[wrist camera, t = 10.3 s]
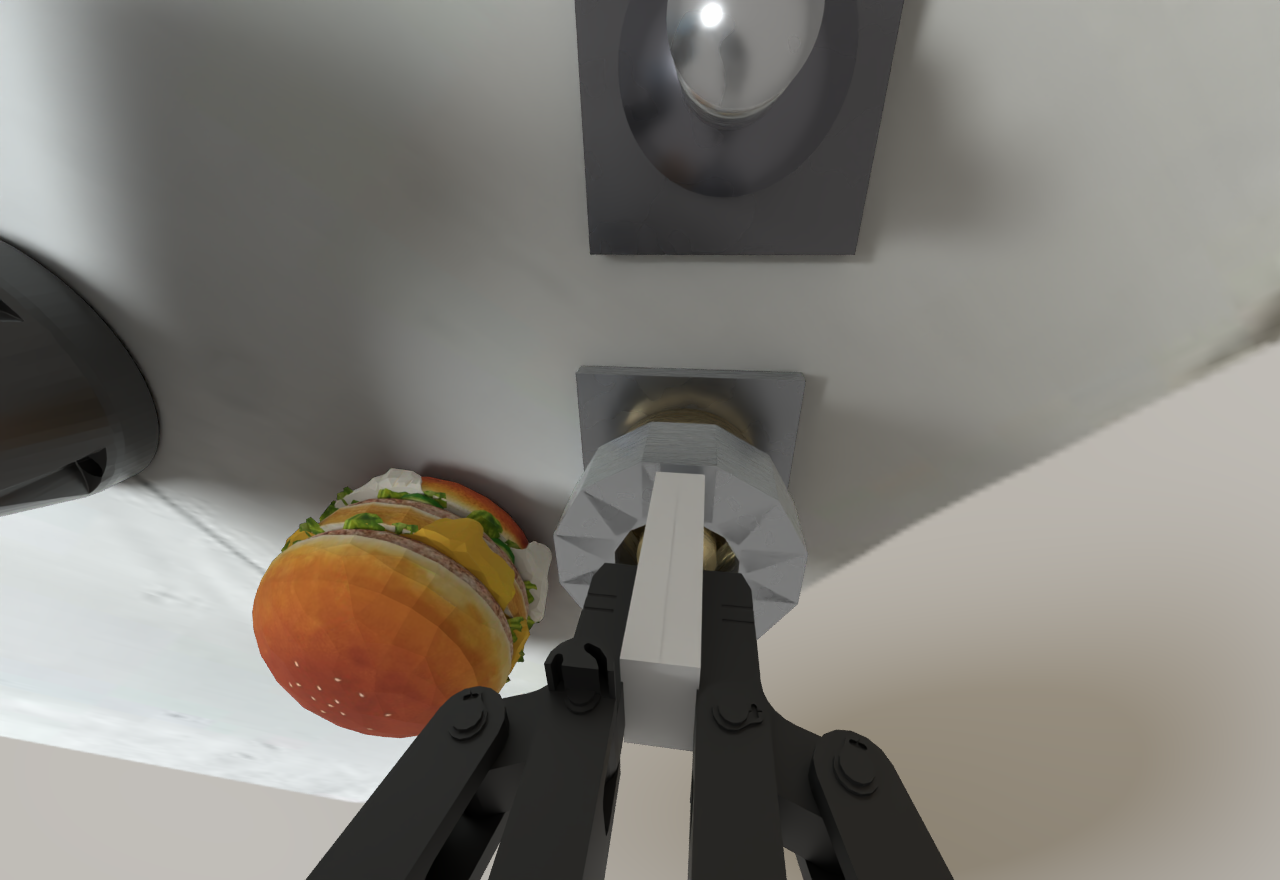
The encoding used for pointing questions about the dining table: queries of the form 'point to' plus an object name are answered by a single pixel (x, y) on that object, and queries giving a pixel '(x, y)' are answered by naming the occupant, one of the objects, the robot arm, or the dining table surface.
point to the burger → (399, 603)
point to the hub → (692, 412)
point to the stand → (731, 122)
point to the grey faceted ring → (733, 508)
